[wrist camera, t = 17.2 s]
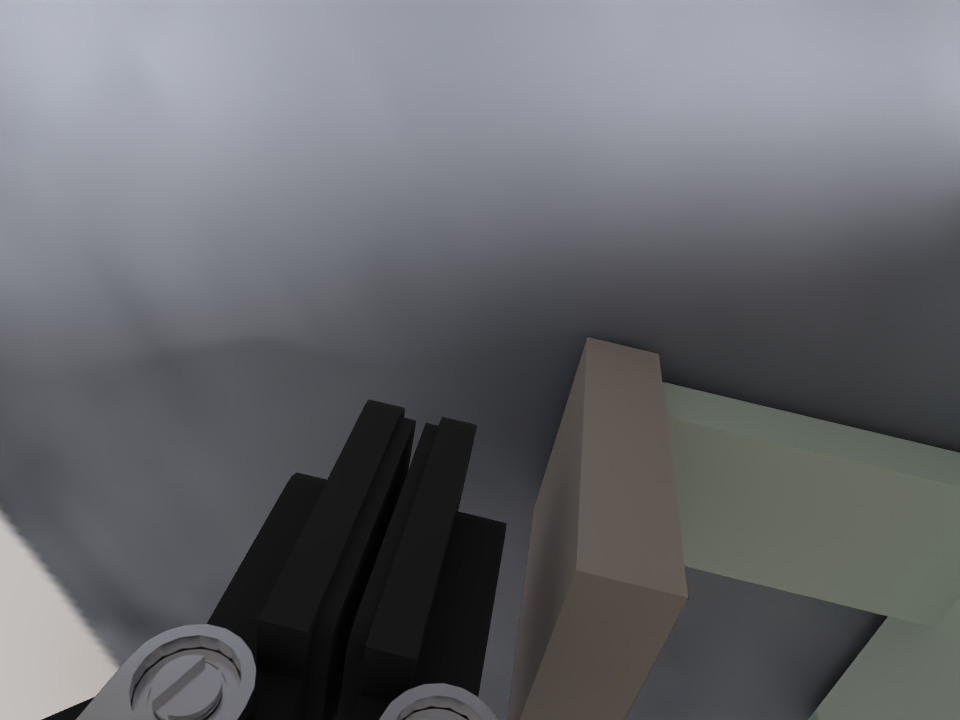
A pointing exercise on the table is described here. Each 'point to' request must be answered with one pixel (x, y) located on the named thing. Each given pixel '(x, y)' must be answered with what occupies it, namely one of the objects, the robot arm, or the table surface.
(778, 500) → the tray
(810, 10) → the table surface
